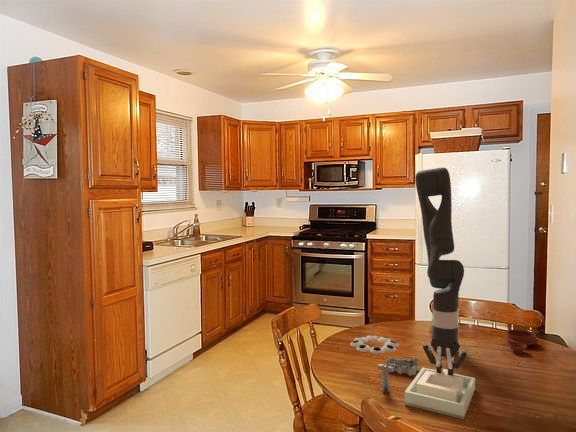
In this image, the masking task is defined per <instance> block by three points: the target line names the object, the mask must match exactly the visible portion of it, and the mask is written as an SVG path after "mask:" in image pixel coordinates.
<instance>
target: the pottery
mask: <svg viewBox="0 0 576 432" xmlns="http://www.w3.org/2000/svg"><path fill="white" fill-rule="evenodd" d="M504 339H505V340H506V341H509V342H507V344H508V347H509V348H510V349H511V351H512V352H513V353H515V354H518V355H519V354H523V352H524V351H525V350H526V349H527V348H528V347H529V346H530V345H531V346H532V345H536V344H538V343H539V342H538V341H539V340H538V339H537V338H536V333H534V332H532V331H528V330H523V329H509V330H507V331H506V335H505V336H504Z"/></svg>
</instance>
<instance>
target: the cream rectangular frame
mask: <svg viewBox="0 0 576 432" xmlns="http://www.w3.org/2000/svg"><path fill="white" fill-rule="evenodd" d="M462 392H463V378H461V377H456V376H451V375H448V368H447V369H445V368H442V372H441V373H436V372H431V371H425V373H424V374H423V375H422V377H421V378H420V379H419V381H418V382H417V392H416V393H419V394H424V395H428V396H432V397H437V398H441V399H445V400H450V401H454V402H458V401H459V399H460V396H461V394H462Z"/></svg>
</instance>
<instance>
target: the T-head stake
mask: <svg viewBox="0 0 576 432" xmlns="http://www.w3.org/2000/svg"><path fill="white" fill-rule="evenodd" d="M377 369H378V370H380V371H381V372H382V373H381V374H382V375H381V376H382V377H381V378H382V379H381V381H382V387H381V389H382V393H385V394H388V393H389V392H390V373H393V372H395V371H394V367H392V366H388V365H386V364H382V363H379V364H378V365H377Z"/></svg>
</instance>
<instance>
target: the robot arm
mask: <svg viewBox="0 0 576 432" xmlns="http://www.w3.org/2000/svg"><path fill="white" fill-rule="evenodd" d="M414 179H415V180H414V181H415V182H414V183H415V187H416V192H417V193H416V194H417V198H418V202H419V206H420V207H419V208H420V212H421V219H422V229H423V237H424V243H425V248H426V254H427V255H426V256H427V265H428V266H427V271H426V273H427V277H428V279H429V283H430V286H431V287H432V288H434V289H436V290H434V292H433V295H432V297H433V298H432V299H433V300H432V301H433V302H432V305H433V307H432V315H431V316H432V319H431V324H432V325H431V326H432V330H431V331H432V332H431V333H432V335H431V338H432V339H431V341H430V342H429V343H424V345H423V346H422V348H423V350H424V353H425V354H426V356H427V359H428V361H429V362H430V364H432V365H435V366H436V367H435V368H436V369H435V370H436V371H437V372H436V373H441V372H442V370H443V364H442V363H443V357H445V358H446V362H447V367H448V368H447V370H448V375H451V376H454V374H455V373H454V369H457V370H458V369H459V368H460V366H461V364H462V363H463V362H464V360H465V358H466V357H467V355H468V353H469V351H468V350H467V349H463V348H462V347H461V346H460V343H459V303H460V302H459V299H460V298H459V295H460V293H459V292H460V289H461V288H460V287H461V285H462V282H463V279H464V275H465V268H464V264H463V263H462V262H461V261H460V260H457V259H440V258H441V257H443V256H447V255H450V254H452V253H453V252H454V251H455V242H454V234H453V225H452V210H453V209H452V207H453V206H452V184H451V176H450V171H449V169H448V168H446V167H438V168H428V169H424V170H423V169H422V170H419V171H417V172H416V173H415V178H414ZM436 196H441V199H440V200H441V201H440V204H439V207H438V209H437V208H436V207H435V206H434V204H432V203H433V202H431V200H430V198H429V197H436ZM432 350H433V351H434V352H435V354H436V356H435V355H434V352H433V351H432ZM456 354H458V356H459V357H458V359H457V360H456V362H455V361H454V356H455V355H456Z"/></svg>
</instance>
